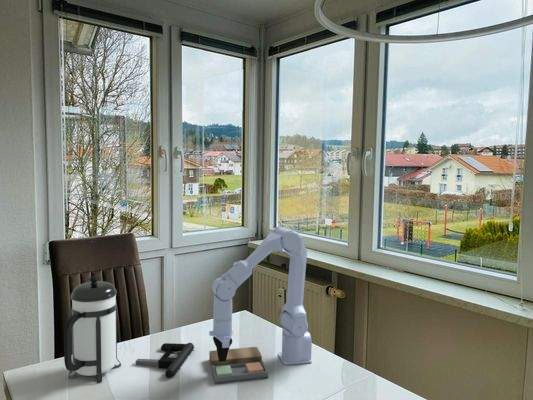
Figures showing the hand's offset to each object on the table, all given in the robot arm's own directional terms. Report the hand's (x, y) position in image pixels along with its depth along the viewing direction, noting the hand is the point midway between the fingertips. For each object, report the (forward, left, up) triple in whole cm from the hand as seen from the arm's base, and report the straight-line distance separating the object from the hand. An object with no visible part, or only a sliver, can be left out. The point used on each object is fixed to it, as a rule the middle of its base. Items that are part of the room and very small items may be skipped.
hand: (222, 360), depth 126 cm
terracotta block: (-9, +4, -1) cm, 10 cm away
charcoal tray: (-5, +3, -4) cm, 7 cm away
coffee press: (+38, -7, -4) cm, 39 cm away
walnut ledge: (-5, -5, -4) cm, 8 cm away
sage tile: (0, +4, -1) cm, 4 cm away
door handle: (+17, -11, -4) cm, 21 cm away
